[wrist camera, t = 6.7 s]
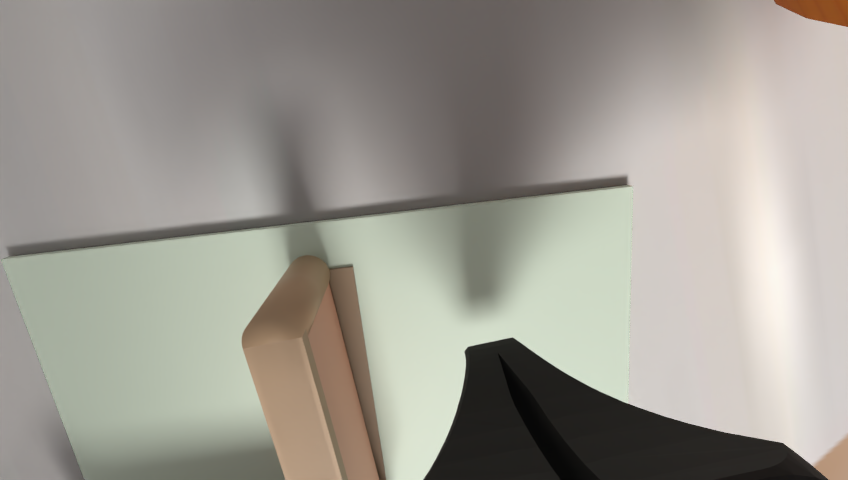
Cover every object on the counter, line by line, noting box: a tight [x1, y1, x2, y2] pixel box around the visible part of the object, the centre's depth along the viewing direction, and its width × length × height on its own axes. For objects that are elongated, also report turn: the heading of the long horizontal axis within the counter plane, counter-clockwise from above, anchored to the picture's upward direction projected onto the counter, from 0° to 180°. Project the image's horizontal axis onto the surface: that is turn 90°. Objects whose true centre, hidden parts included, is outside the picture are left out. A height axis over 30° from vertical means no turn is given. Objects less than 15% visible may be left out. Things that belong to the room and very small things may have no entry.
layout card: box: [1, 185, 633, 480], centre depth 15 cm, size 14×18×1 cm
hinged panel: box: [241, 255, 379, 480], centre depth 12 cm, size 1×8×4 cm, turn 11°
